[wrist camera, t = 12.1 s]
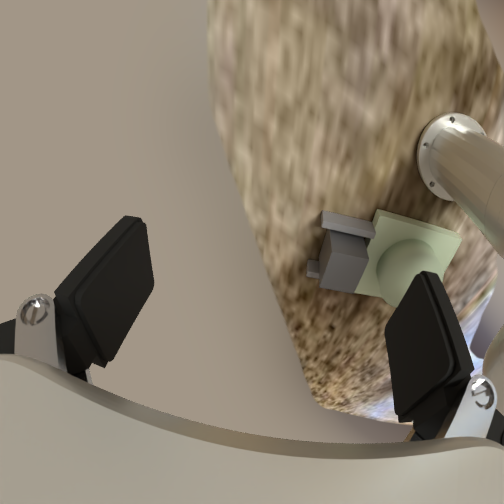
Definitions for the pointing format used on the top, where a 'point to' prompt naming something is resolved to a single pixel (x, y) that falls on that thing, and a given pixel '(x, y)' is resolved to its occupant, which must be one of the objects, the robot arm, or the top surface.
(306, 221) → the top surface
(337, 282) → the grey rectangular block
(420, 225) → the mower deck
